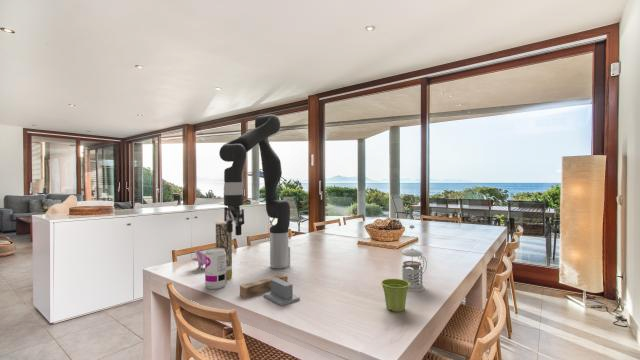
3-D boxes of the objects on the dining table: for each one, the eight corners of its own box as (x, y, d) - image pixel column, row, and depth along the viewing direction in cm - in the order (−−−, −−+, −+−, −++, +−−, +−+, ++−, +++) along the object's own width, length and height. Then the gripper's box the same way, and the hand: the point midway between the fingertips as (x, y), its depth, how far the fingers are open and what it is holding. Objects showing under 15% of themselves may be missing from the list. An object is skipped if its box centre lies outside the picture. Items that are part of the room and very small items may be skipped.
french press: (394, 285, 131) (394, 224, 131) (417, 281, 135) (416, 222, 135) (410, 293, 122) (410, 227, 122) (434, 288, 126) (433, 225, 126)
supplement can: (207, 291, 126) (206, 252, 126) (204, 284, 133) (203, 248, 133) (228, 287, 129) (227, 250, 129) (224, 281, 137) (223, 246, 137)
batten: (281, 283, 135) (281, 274, 135) (287, 285, 132) (287, 276, 132) (239, 296, 121) (239, 285, 121) (245, 298, 118) (245, 288, 118)
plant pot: (378, 303, 112) (377, 278, 112) (404, 302, 113) (404, 277, 113) (385, 314, 102) (385, 287, 102) (414, 313, 103) (414, 286, 103)
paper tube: (227, 281, 138) (227, 223, 138) (213, 280, 139) (212, 222, 139) (234, 276, 144) (234, 221, 144) (221, 275, 146) (220, 220, 146)
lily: (221, 270, 157) (221, 251, 162) (204, 267, 147) (205, 246, 152) (202, 276, 161) (203, 257, 165) (184, 272, 151) (185, 253, 156)
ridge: (281, 291, 125) (281, 276, 124) (299, 300, 115) (299, 283, 115) (263, 296, 119) (263, 280, 119) (281, 305, 110) (281, 288, 110)
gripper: (249, 193, 125) (250, 235, 125) (235, 192, 136) (235, 230, 137) (231, 194, 121) (232, 237, 121) (217, 193, 132) (218, 232, 132)
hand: (234, 233), depth 129 cm, fingers open, 8 cm apart
